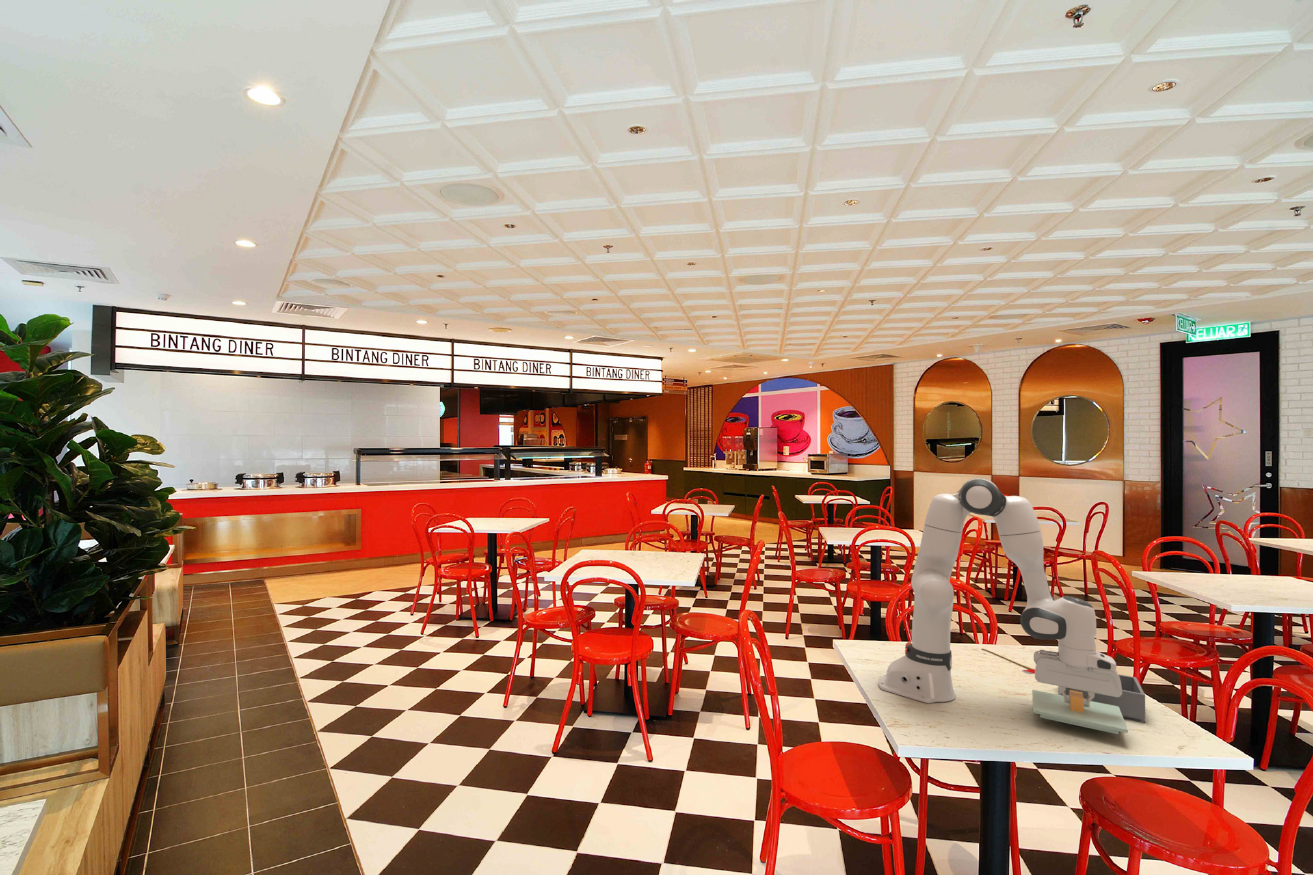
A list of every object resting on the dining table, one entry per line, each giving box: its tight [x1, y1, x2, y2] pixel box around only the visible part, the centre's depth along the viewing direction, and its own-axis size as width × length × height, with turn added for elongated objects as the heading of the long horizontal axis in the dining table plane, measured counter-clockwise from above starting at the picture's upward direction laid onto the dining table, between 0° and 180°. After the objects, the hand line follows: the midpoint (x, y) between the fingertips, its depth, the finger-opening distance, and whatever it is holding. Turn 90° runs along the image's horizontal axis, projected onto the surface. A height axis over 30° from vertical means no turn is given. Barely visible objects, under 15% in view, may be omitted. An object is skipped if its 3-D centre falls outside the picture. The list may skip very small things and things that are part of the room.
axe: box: [980, 648, 1035, 675], centre depth 219 cm, size 26×1×10 cm
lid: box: [1031, 689, 1129, 735], centre depth 168 cm, size 21×17×6 cm
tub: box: [1057, 673, 1146, 724], centre depth 182 cm, size 20×16×8 cm
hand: (1076, 704), depth 168 cm, fingers closed on lid, 3 cm apart
